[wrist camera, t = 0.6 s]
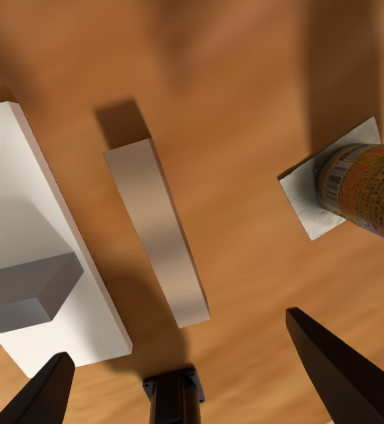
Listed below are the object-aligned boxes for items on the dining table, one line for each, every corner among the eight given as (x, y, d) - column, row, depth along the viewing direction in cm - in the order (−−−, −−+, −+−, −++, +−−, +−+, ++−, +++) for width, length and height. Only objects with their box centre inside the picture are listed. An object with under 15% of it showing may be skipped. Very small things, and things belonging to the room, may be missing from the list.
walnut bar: (205, 294, 21) (211, 319, 18) (178, 302, 21) (179, 328, 18) (152, 137, 15) (148, 138, 13) (114, 149, 15) (101, 152, 13)
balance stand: (133, 344, 22) (119, 414, 17) (34, 368, 22) (-12, 446, 17) (18, 103, 14) (-90, 82, 8) (-144, 140, 14) (-367, 146, 8)
